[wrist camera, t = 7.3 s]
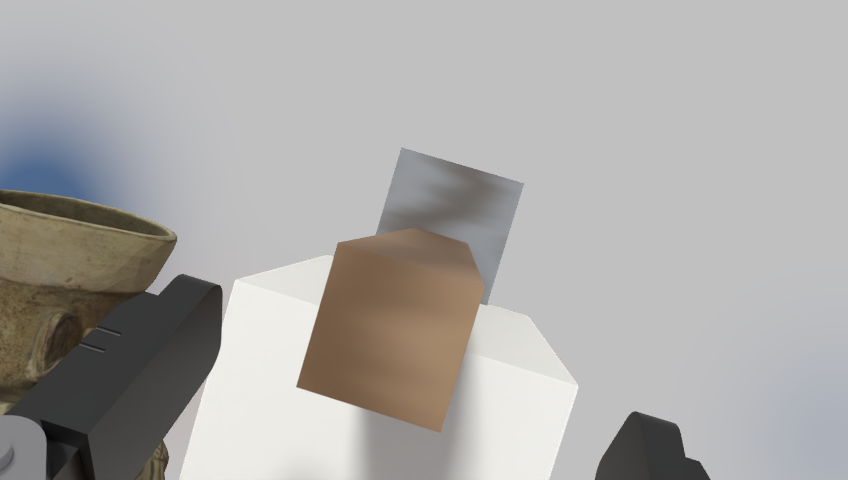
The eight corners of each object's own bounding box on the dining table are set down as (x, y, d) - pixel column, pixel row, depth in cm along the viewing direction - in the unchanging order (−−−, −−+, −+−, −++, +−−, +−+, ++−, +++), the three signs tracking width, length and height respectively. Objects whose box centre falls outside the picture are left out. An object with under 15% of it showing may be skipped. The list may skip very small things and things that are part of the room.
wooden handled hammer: (201, 357, 12) (297, 16, 11) (382, 259, 40) (411, 160, 39) (538, 464, 11) (648, 116, 11) (481, 290, 39) (512, 189, 39)
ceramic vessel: (193, 573, 51) (288, 244, 50) (53, 833, 30) (209, 276, 29) (-27, 518, 50) (63, 179, 48) (-333, 749, 29) (-191, 162, 27)
